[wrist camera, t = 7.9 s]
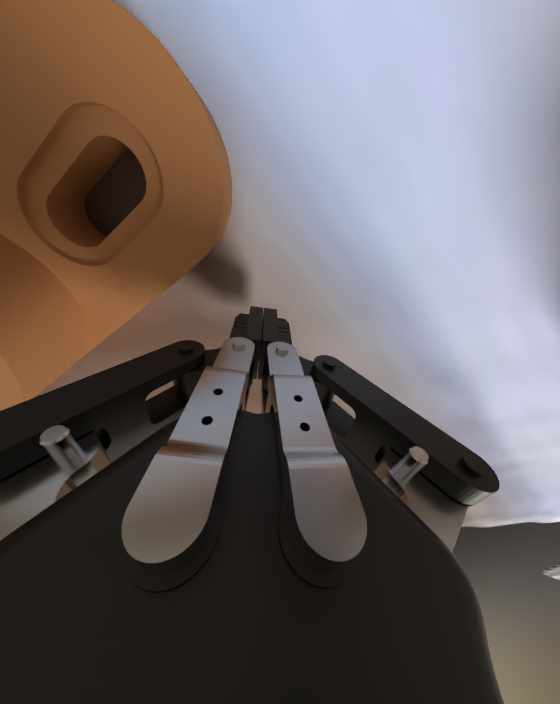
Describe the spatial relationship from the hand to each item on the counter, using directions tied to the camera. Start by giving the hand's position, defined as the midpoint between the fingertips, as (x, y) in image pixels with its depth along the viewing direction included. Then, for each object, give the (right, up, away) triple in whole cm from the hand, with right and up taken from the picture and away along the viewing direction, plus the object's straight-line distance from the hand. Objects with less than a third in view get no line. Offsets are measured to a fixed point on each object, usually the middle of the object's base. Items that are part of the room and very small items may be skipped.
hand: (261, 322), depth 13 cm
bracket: (-9, +5, -1) cm, 11 cm away
